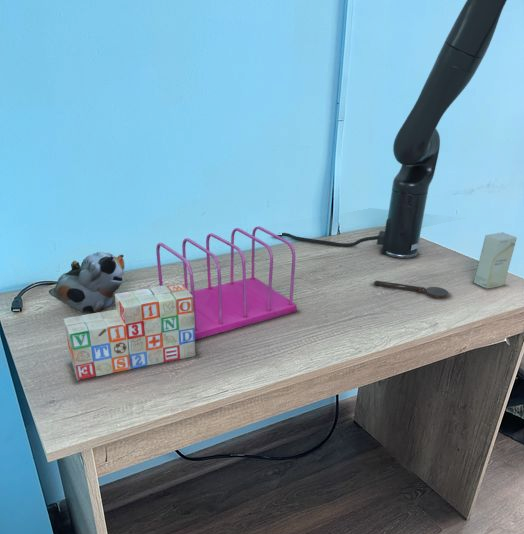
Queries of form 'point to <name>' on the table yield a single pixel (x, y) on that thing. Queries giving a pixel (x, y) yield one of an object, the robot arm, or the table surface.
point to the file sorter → (233, 291)
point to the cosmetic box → (495, 260)
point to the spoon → (416, 289)
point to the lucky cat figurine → (90, 282)
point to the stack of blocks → (133, 332)
